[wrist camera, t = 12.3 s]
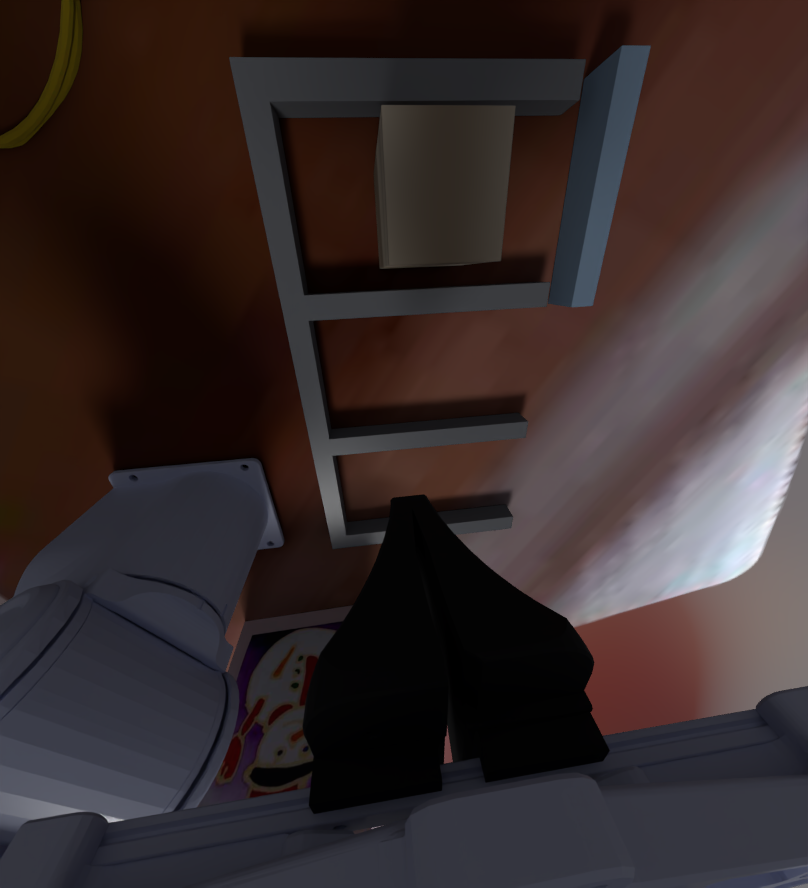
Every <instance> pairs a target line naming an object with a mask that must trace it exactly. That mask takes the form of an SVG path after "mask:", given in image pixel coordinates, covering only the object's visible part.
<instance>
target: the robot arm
mask: <svg viewBox="0 0 808 888" xmlns="http://www.w3.org/2000/svg"><path fill="white" fill-rule="evenodd" d="M243 464H244V465H247V466H248V467H249V468H245V467H243ZM133 475H134V476H136V477H137V478H135V477H134V476H133ZM109 481H110V482H111V484H112V486H113V487H114V488H113V489H112V490H111V491H110V492H109V493H107V494H106V495H105V496H104V497H103V498H102V499H100V500H99V501H98V502H97V503H96V504H95V505H93V506H92V507H91V508H90V509H89V510H88V511H86V512H85V513H84V514H83V515H82V516H81V517H79V518H78V519H77V520H76V521H75V522H74V523H72V524H71V525H70V526H69V527H68V528H67V529H65V530H64V531H63V532H62V533H61V534H60V535H58V536H57V537H56V538H55V539H54V540H53V541H51V542H50V543H49V544H48V545H47V546H46V547H44V548H43V549H42V550H41V551H40V552H39V553H38V554H37V555H36V556H35V557H34V558H33V560H32V561H31V562H30V564H29V565H28V566H27V568H26V570H25V571H24V573H23V575H22V577H21V579H20V581H19V583H18V586H17V588H16V591H15V595H14V597H13V598H11V599H10V600H8V601H6V602H5V603H4V604H2V605H0V888H791V887H794V886H798V885H802V884H807V883H808V686H806V687H800V688H794V689H789V690H783V691H778V692H774V693H772V694H770V695H768V696H766V697H764V698H763V699H762V700H761V701H760V702H759V703H758V704H757V706H756V709H752V710H747V711H741V712H735V713H730V714H724V715H718V716H713V717H707V718H702V719H696V720H690V721H685V722H679V723H673V724H668V725H662V726H656V727H650V728H645V729H639V730H633V731H628V732H622V733H616V734H611V735H605V736H602V734H601V732H600V730H599V728H598V726H597V724H596V723H595V721H594V719H593V717H592V715H591V713H590V712H591V711H592V709H593V708H592V704H591V703H590V701H589V699H588V697H587V695H586V693H585V691H584V689H585V687H586V685H587V683H588V681H589V678H590V676H591V674H592V671H593V666H594V660H593V657H592V655H591V653H590V651H589V650H588V648H587V646H586V645H585V643H584V642H583V640H582V639H581V637H580V636H579V634H578V633H577V632H576V630H575V629H574V628H573V626H572V625H571V624H570V622H569V621H568V620H567V618H565V617H563V616H562V615H560V614H558V613H556V612H554V611H553V610H551V609H549V608H547V607H546V606H544V605H542V604H540V603H539V602H537V601H535V600H534V599H532V598H531V597H529V596H527V595H526V594H524V593H523V592H521V591H520V590H518V589H517V588H516V587H514V586H513V585H512V584H510V583H509V582H508V581H506V580H505V579H503V578H502V577H501V576H499V575H498V574H497V573H495V572H494V571H493V570H492V569H491V568H489V567H488V566H487V565H486V564H485V563H483V562H482V561H481V560H480V559H479V558H478V557H477V556H476V555H475V554H474V553H473V552H471V551H470V550H469V549H468V548H467V547H466V546H465V545H464V543H463V542H462V541H461V540H460V539H459V538H458V537H457V536H456V535H455V534H454V533H453V532H452V530H451V529H450V528H449V527H448V526H447V524H446V523H445V522H444V521H443V519H442V518H441V517H440V516H439V514H438V513H437V512H436V510H435V509H434V507H433V506H432V504H431V503H430V501H429V500H428V498H427V497H426V496H425V495H414V496H405V497H396V498H392V499H391V509H390V516H389V521H388V525H387V529H386V533H385V536H384V539H383V542H382V545H381V548H380V551H379V554H378V556H377V559H376V561H375V564H374V566H373V568H372V570H371V573H370V575H369V577H368V579H367V581H366V583H365V585H364V587H363V589H362V591H361V592H360V594H359V596H358V598H357V600H356V601H355V603H354V605H353V606H352V608H351V609H350V611H349V613H348V614H347V616H346V617H345V619H344V621H343V622H342V624H341V625H340V627H339V628H338V629H337V631H336V632H335V634H334V635H333V636H332V638H331V639H330V640H329V642H328V643H327V645H326V646H325V647H324V649H323V650H322V651H321V653H320V655H319V658H318V661H317V663H316V666H315V669H314V672H313V675H312V678H311V681H310V685H309V689H308V693H307V697H306V703H305V710H304V718H303V725H302V727H303V734H304V736H305V738H306V741H307V743H308V745H309V747H310V750H311V752H312V754H313V756H314V757H313V767H312V777H311V786H310V788H304V789H298V790H292V791H287V792H281V793H275V794H270V795H264V796H258V797H253V798H247V799H241V800H236V801H230V802H224V803H219V804H213V805H207V806H202V807H197V806H198V805H199V803H200V802H201V800H202V799H203V797H204V796H205V794H206V792H207V791H208V789H209V787H210V786H211V784H212V782H213V781H214V779H215V777H216V775H217V773H218V771H219V769H220V767H221V765H222V763H223V760H224V758H225V756H226V753H227V750H228V748H229V745H230V742H231V739H232V736H233V733H234V729H235V725H236V721H237V716H238V709H239V690H238V686H237V683H236V681H235V679H234V678H233V676H232V675H230V674H229V673H228V672H226V671H225V670H226V668H227V665H228V662H229V659H230V656H231V653H232V650H233V646H232V645H230V644H229V643H228V642H227V641H226V639H225V633H226V631H227V628H228V625H229V623H230V620H231V618H232V615H233V612H234V610H235V607H236V605H237V602H238V599H239V597H240V594H241V591H242V589H243V586H244V584H245V581H246V578H247V576H248V573H249V571H250V568H251V565H252V563H253V560H254V558H255V555H256V552H257V550H259V549H268V548H277V547H281V546H283V544H284V536H283V533H282V530H281V526H280V523H279V520H278V517H277V513H276V510H275V507H274V503H273V500H272V497H271V494H270V490H269V487H268V484H267V481H266V477H265V474H264V471H263V467H262V464H261V462H260V461H259V460H258V459H255V458H247V459H236V460H226V461H215V462H204V463H193V464H183V465H172V466H161V467H150V468H139V469H129V470H118V471H114V472H113V473H111V474H110V475H109ZM269 541H271V542H273V543H271V542H269ZM447 726H448V733H449V739H450V746H451V752H452V759H453V762H451V763H446V764H444V746H445V736H446V733H447ZM383 825H384V826H383ZM377 826H381V827H377ZM372 827H377V828H374V829H371V830H368V831H364V832H361V833H358V834H354V832H353V831H356V830H361V829H367V828H372Z"/></svg>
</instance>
